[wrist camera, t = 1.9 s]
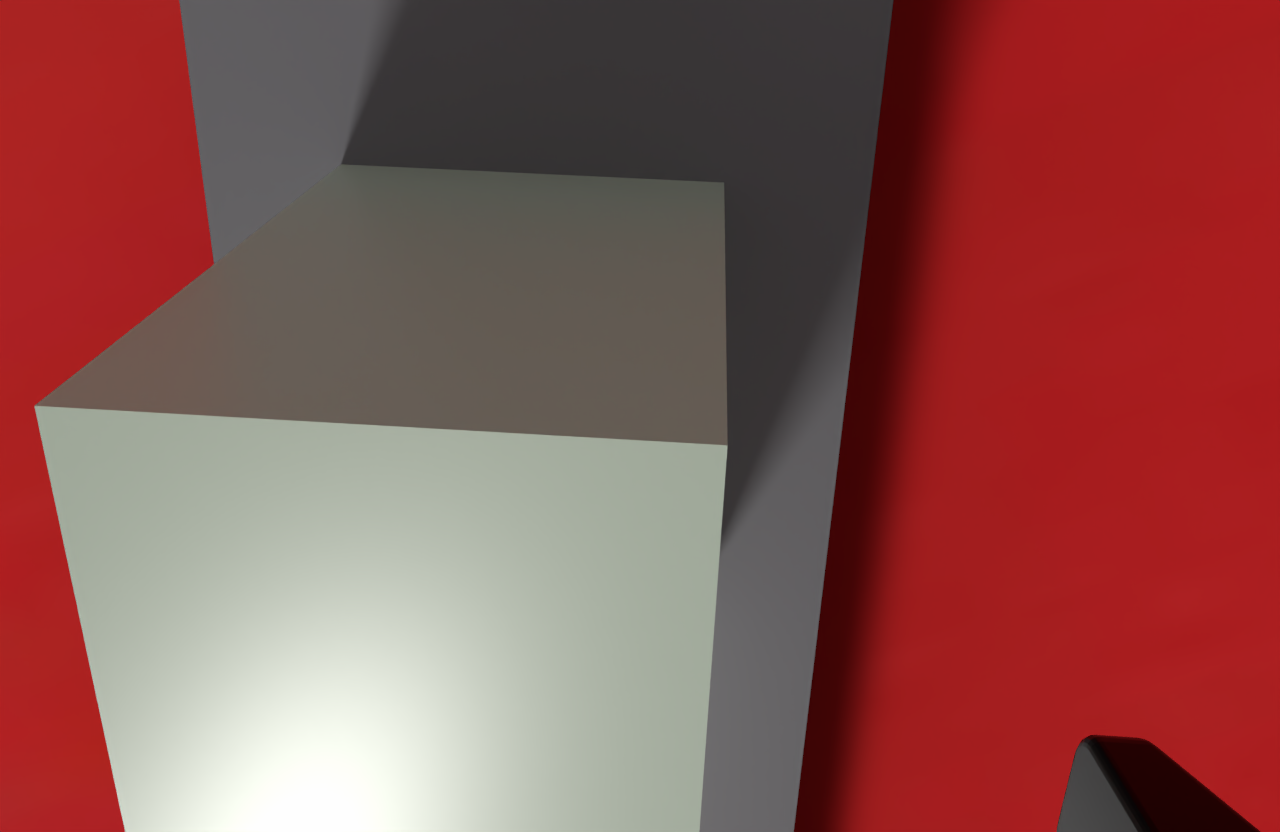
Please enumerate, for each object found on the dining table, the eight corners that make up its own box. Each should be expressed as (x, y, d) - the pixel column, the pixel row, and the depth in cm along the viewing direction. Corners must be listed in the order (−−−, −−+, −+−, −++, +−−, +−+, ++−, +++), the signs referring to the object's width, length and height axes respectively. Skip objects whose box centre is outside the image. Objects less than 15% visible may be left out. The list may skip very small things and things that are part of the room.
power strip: (887, -287, 13) (944, -340, 9) (743, 1053, 22) (748, 1258, 19) (256, -305, 13) (100, -364, 10) (381, 1024, 22) (324, 1221, 19)
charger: (723, 141, 14) (727, 446, 7) (700, 507, 16) (684, 1041, 9) (390, 125, 14) (34, 405, 7) (412, 490, 16) (161, 998, 9)
